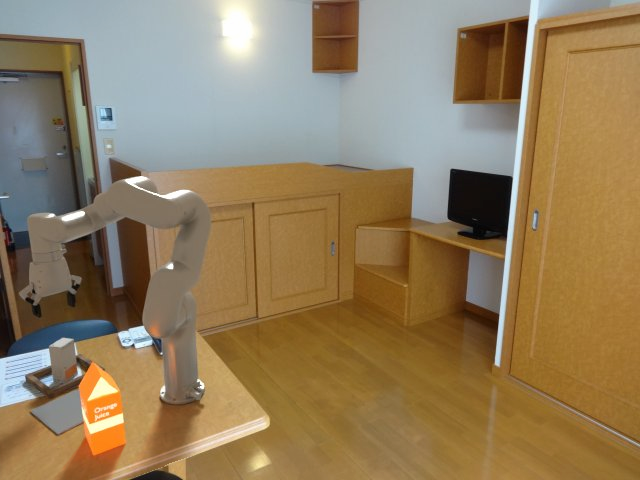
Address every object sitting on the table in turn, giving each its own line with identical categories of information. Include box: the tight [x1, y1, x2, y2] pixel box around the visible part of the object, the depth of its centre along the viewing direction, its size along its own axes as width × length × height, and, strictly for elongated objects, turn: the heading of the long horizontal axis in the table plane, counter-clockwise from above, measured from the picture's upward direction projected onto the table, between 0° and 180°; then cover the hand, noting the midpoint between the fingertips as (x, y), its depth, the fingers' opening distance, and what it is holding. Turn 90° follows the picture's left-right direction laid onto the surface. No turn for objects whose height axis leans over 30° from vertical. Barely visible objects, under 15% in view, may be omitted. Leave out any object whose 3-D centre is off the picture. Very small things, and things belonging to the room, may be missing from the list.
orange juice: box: [78, 361, 127, 456], centre depth 117 cm, size 8×9×20 cm
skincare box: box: [48, 337, 79, 384], centre depth 145 cm, size 6×4×12 cm
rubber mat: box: [29, 388, 84, 436], centre depth 131 cm, size 16×15×1 cm
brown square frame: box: [24, 353, 106, 399], centre depth 147 cm, size 15×17×2 cm
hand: (55, 311), depth 141 cm, fingers open, 9 cm apart
